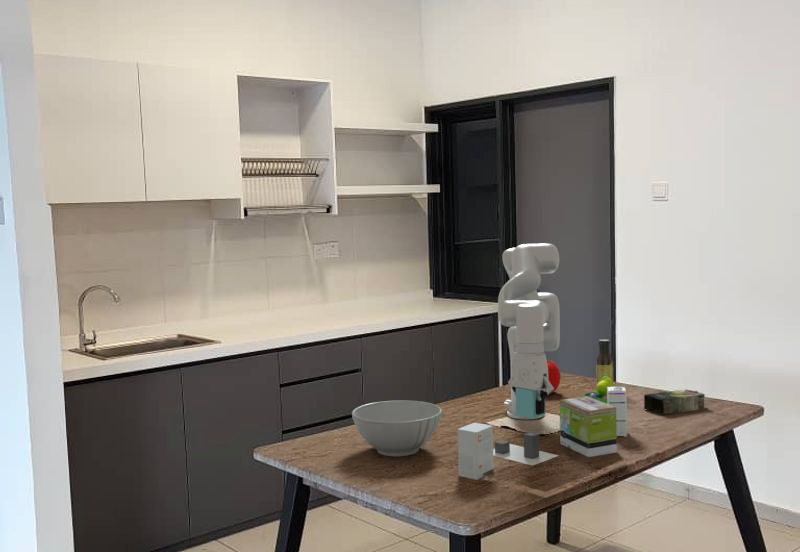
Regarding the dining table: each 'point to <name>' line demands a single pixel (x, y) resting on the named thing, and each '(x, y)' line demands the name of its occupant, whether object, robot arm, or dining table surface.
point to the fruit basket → (601, 390)
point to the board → (518, 453)
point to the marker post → (531, 445)
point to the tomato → (553, 374)
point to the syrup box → (619, 408)
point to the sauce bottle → (604, 362)
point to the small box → (475, 450)
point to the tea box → (588, 426)
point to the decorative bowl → (397, 425)
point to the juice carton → (675, 401)
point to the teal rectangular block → (526, 403)
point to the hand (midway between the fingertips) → (530, 411)
